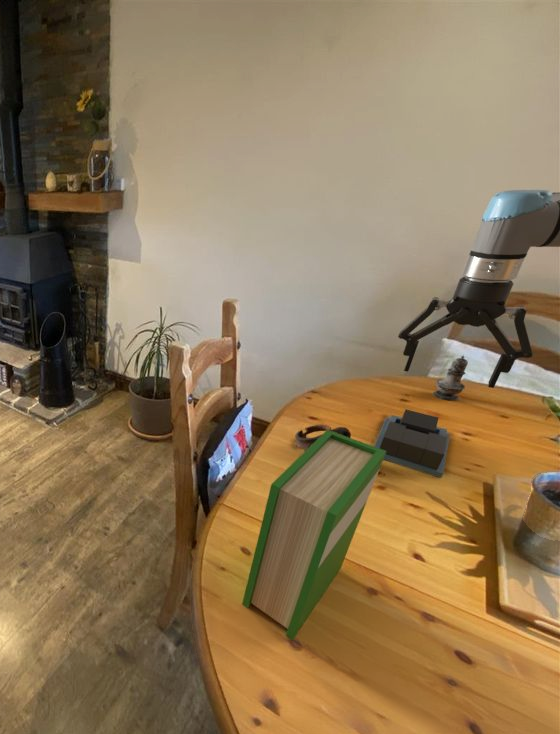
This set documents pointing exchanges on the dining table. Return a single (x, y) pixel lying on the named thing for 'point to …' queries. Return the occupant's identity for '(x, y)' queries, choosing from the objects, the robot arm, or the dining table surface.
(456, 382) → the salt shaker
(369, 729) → the dining table surface
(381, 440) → the board
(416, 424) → the black box
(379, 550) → the dining table surface
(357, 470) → the hardback book
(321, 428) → the dark brown curved piece
